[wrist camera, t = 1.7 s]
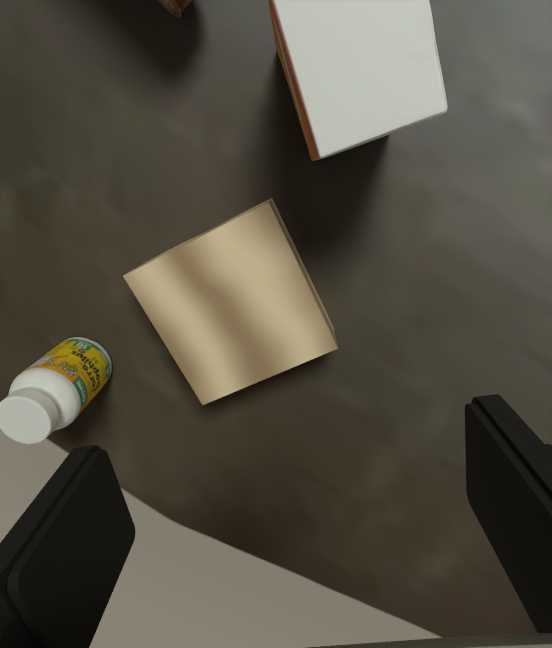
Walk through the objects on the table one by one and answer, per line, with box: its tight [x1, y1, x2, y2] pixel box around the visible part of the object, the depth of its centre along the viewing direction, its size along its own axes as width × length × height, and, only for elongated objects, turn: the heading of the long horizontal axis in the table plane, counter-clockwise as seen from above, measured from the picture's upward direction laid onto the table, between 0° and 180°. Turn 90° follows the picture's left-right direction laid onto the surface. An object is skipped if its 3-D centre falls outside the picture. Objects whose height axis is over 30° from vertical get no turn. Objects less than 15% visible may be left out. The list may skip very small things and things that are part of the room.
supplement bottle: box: [0, 337, 112, 444], centre depth 34 cm, size 5×5×10 cm
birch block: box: [123, 198, 338, 405], centre depth 34 cm, size 12×12×5 cm
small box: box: [269, 0, 447, 161], centre depth 24 cm, size 8×6×13 cm
